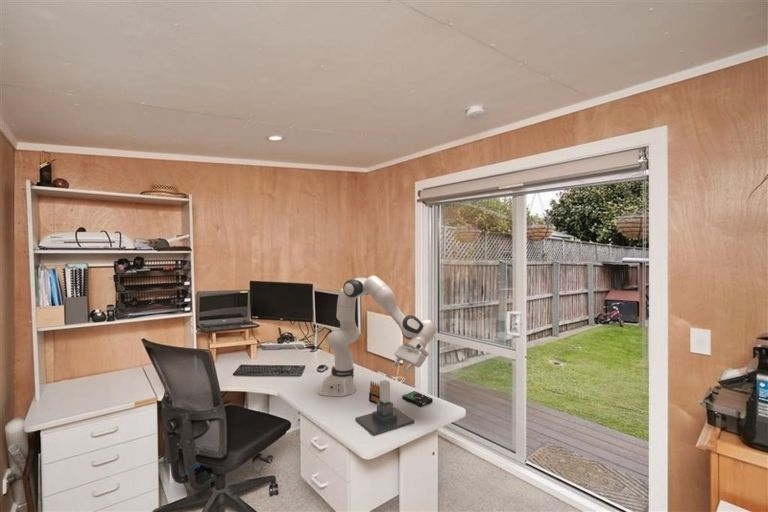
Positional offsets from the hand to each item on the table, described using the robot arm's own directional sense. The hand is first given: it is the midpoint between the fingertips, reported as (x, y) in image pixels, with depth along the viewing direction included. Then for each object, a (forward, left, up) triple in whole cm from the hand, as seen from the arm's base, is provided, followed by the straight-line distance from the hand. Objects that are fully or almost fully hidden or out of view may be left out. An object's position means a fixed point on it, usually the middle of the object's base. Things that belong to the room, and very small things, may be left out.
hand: (400, 368), depth 194 cm
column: (-8, -5, -20) cm, 22 cm away
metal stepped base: (-8, -5, -26) cm, 27 cm away
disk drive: (+11, +21, -27) cm, 35 cm away
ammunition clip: (-12, +17, -26) cm, 34 cm away
